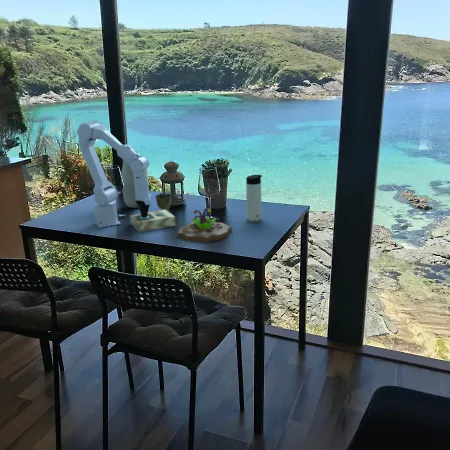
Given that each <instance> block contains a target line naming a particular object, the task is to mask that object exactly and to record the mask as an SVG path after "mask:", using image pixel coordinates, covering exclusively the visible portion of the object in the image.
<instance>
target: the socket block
mask: <svg viewBox="0 0 450 450" xmlns="http://www.w3.org/2000/svg"><path fill="white" fill-rule="evenodd" d="M140 216H141V213H137V214H132V215H131V214H130V215H129V217H130V224H131V225H132V227H134V229H135V230H137V232H139V231H143V232H147V231H146V230H148V231H152V230H153V229H154V230H158V229H163V228H170V227H174V226H176V216H175V215H174V214H173V213H171V212H170V211H169V210H168V211H167V210H161V209H160V210H155V211H148V216H149V218H146V219H140Z"/></svg>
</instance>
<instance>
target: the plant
mask: <svg viewBox="0 0 450 450" xmlns="http://www.w3.org/2000/svg"><path fill="white" fill-rule="evenodd" d="M206 212H208V213H209V214H210V213H211V212H212V210H211V208H208V207H207V208H206V207H205V208H204V209H203V212H201V211H200V210H198V209H196V210H194V211H193V214H194V215H196V214H197V213H198V214H199V215H198V214H197V215H196V216H194V217H193V219H191V221H192V222H189V223H186V224H185V225H184V226H182V227H180V228H179V229H178V231H177V233H178V238H180V239H181V238H182V239H184V240H185V241H190V242H198V243H209V242H213V241H214V242H215V241H219V240H222V239H223V238H226V237H228V236H229V234H230V233H231V232H232V231H233V230H232V226H230V225H228V224H227V223H224V222H219V221H218V222H216V220H217V218H215V217H213V218H212V219H210V217H209V216H207V217H206Z"/></svg>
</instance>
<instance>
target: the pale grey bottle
mask: <svg viewBox="0 0 450 450" xmlns="http://www.w3.org/2000/svg"><path fill="white" fill-rule="evenodd" d="M133 150H134V151H135V152H136V153H137V154H138V151H137V150H136V149H133ZM121 176H122V179H123V183H124V191H123V190H122V195H123V201H124V204H125V205H126V206H127V207H129V208H130V209H139V207H138V205H137V204H136V202H135V201H139V200H137V199H135V196H136V195H135V185H134V175H133V171H132V170H131V169H130V165H129V164H128V163H126V162H125V161H124V160H123V159H122V168H121V175H120V177H121Z"/></svg>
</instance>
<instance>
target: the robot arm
mask: <svg viewBox="0 0 450 450" xmlns="http://www.w3.org/2000/svg"><path fill="white" fill-rule="evenodd" d="M76 133H77V136H78V147H79V149H80V152H81V154H82V157H83V159H84V161H85V164H86V166H87V169H88V171H89V174H90V176H91V178H92V180H93V184H94V187H93V190H92V192H93V195H94V201H95V203H96V204H97V205H94V206H93V213H94V224H95V225H96V226H97V228H100V229H101V228H106V226H107V227H111V225H112V226H119V225H121V222H120V221H119V219H118V211H117V199H118V196H119V193H118V190H117V189H116V188H115V187H114V185H113V183H112V182H111V181H109V180H108V179H107V176H106V174H105V171H104V169H103V166H102V164H101V161H100V159H99V157H98V154H97V152H96V149H95V147H94V144H95V143H96V140H102V141H103V142H105V143H106V144H107V145H109V146H110V147H111V148H112V149H114V150H115V151H116V153H117V156H118V157H119V158H121V159H122V161H123V160H124V161H125V162H126V163H128V164H129V165H130V169H131V170H132V171H133V175H134V185H135V195H136V196H135V199H137V200H139V201H135V202H136V204H137V205H138V210H139V214H141V216H142V218H144V217H147V216H148V212H149V208H150V206H151V203H152V201H151V198H152V197H153V194H151V193H150V187H149V178H148V177H149V176H148V168H149V167H150V161H149V160H148V158H147V157H146V156H145V155H141V154H140V153H138V154H137V153H136V152H135V151H136V150H135V149H133V148H132V146H131V145H130V144H122V142H120V141H119V140H118V139H117V137H115V136H114V135H113V134H112V133H111V132H110V131H109V130H108V129H107V128H106V126H105V125H104V124H102V123H101V122H100V121H98V120H92V121H89V122H83V123H81V124H80V125H79V126H78V128H77V130H76ZM134 150H135V151H134Z"/></svg>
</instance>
